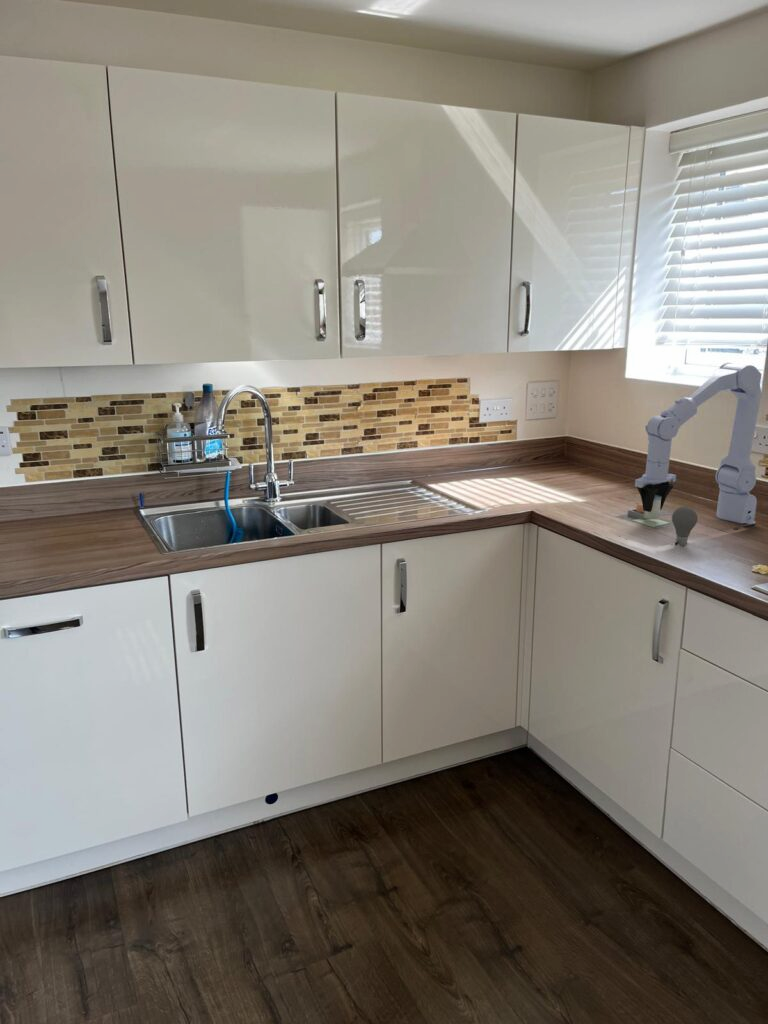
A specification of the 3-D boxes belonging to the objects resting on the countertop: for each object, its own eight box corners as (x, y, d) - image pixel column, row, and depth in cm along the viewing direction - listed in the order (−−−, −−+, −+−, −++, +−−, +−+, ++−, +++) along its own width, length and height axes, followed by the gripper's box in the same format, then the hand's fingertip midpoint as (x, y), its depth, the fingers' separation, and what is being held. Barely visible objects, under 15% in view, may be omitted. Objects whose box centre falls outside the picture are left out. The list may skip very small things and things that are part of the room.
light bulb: (688, 541, 196) (692, 503, 194) (698, 548, 190) (703, 510, 188) (665, 541, 196) (669, 503, 193) (674, 548, 190) (679, 510, 188)
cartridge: (658, 520, 206) (660, 498, 204) (642, 518, 208) (645, 496, 206) (659, 516, 209) (662, 495, 208) (644, 514, 211) (647, 493, 209)
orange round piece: (651, 515, 213) (653, 505, 213) (643, 517, 212) (644, 507, 211) (641, 512, 216) (642, 502, 216) (633, 514, 214) (634, 504, 214)
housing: (696, 524, 212) (697, 514, 211) (656, 533, 203) (657, 523, 202) (654, 512, 223) (655, 503, 222) (614, 520, 214) (615, 511, 213)
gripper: (662, 456, 211) (657, 503, 215) (627, 461, 204) (622, 510, 207) (684, 460, 206) (678, 508, 209) (649, 465, 198) (644, 516, 202)
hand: (652, 509), depth 208 cm, fingers closed on cartridge, 4 cm apart
